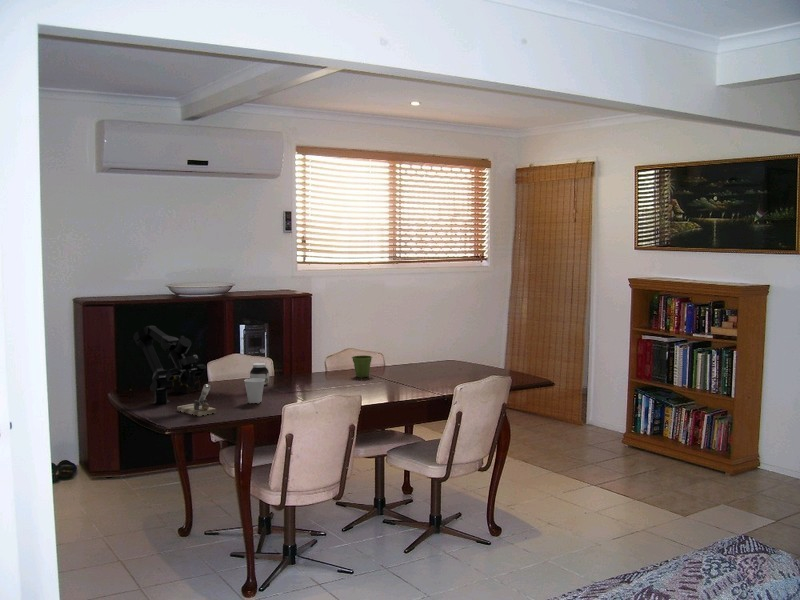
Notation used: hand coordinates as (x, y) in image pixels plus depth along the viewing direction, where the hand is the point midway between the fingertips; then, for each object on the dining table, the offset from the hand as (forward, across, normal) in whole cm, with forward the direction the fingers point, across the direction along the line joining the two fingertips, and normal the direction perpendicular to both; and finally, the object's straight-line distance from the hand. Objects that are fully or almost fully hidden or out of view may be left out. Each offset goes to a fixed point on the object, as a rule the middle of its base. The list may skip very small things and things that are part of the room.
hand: (193, 387), depth 367 cm
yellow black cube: (-23, +25, +40) cm, 52 cm away
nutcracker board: (+9, 0, +7) cm, 11 cm away
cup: (+12, +30, +4) cm, 33 cm away
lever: (+9, 0, +2) cm, 9 cm away
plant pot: (+5, +114, +12) cm, 115 cm away
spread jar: (-13, +60, +30) cm, 68 cm away
